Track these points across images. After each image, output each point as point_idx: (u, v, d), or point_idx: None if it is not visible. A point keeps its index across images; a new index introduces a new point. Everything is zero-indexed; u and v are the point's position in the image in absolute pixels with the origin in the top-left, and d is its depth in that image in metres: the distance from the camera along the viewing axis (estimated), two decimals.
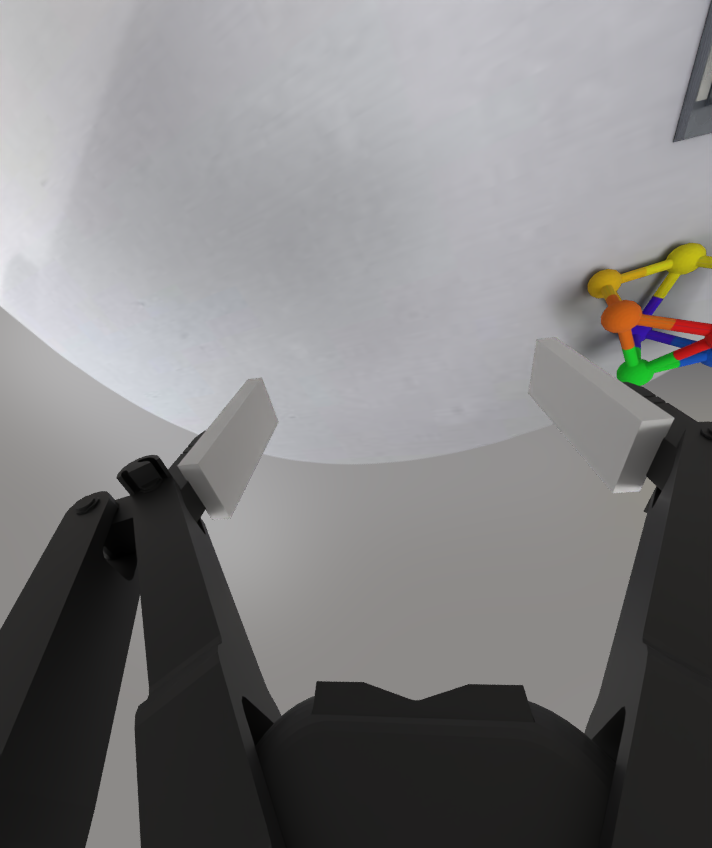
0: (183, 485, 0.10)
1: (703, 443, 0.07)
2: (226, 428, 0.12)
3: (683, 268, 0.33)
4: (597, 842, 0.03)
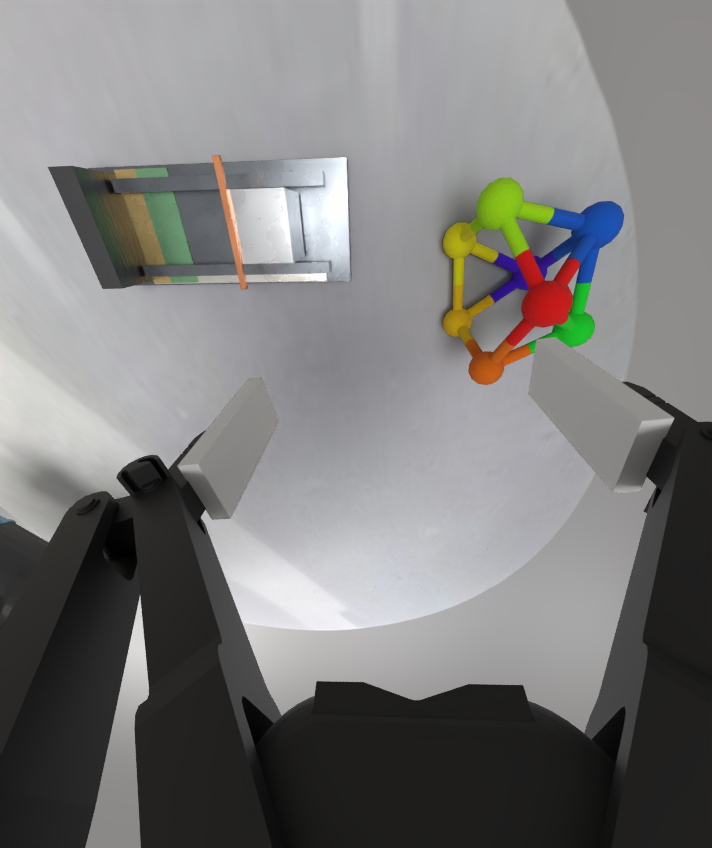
0: (183, 485, 0.10)
1: (703, 443, 0.07)
2: (226, 428, 0.12)
3: (467, 251, 0.29)
4: (597, 842, 0.03)
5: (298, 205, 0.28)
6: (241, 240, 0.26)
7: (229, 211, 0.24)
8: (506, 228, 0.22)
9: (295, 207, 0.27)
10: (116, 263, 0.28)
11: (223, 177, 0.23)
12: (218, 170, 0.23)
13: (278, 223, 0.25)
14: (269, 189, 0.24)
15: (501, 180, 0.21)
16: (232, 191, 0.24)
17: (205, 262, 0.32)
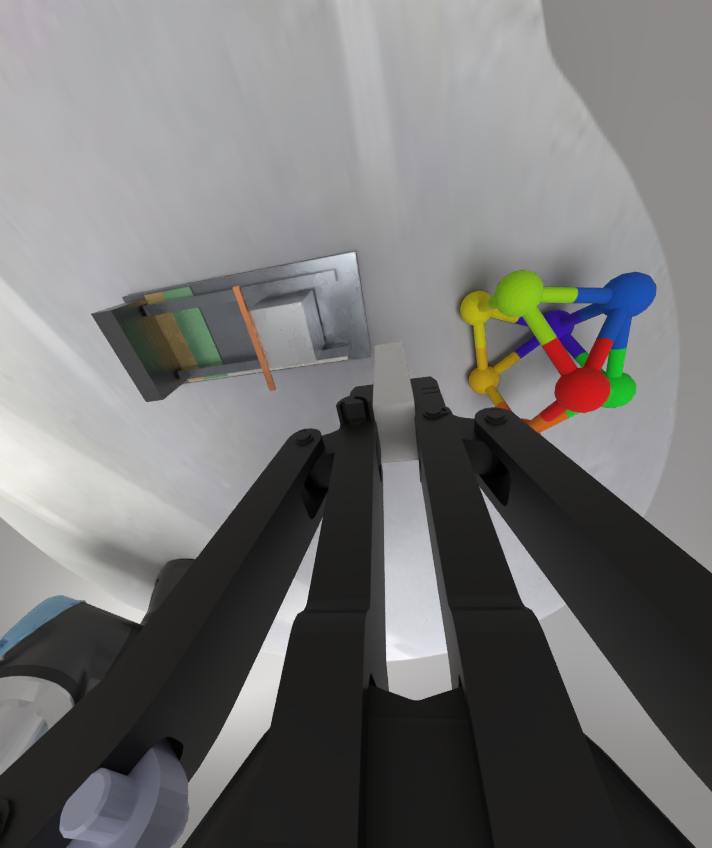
0: (375, 425, 0.11)
1: (427, 423, 0.10)
2: None
3: (487, 318, 0.29)
4: (488, 838, 0.03)
5: (314, 301, 0.29)
6: (266, 349, 0.27)
7: (252, 329, 0.26)
8: (529, 319, 0.21)
9: (311, 307, 0.28)
10: (155, 379, 0.31)
11: (244, 303, 0.25)
12: (239, 298, 0.24)
13: (298, 331, 0.26)
14: (287, 305, 0.25)
15: (518, 275, 0.20)
16: (253, 312, 0.25)
17: (232, 358, 0.34)
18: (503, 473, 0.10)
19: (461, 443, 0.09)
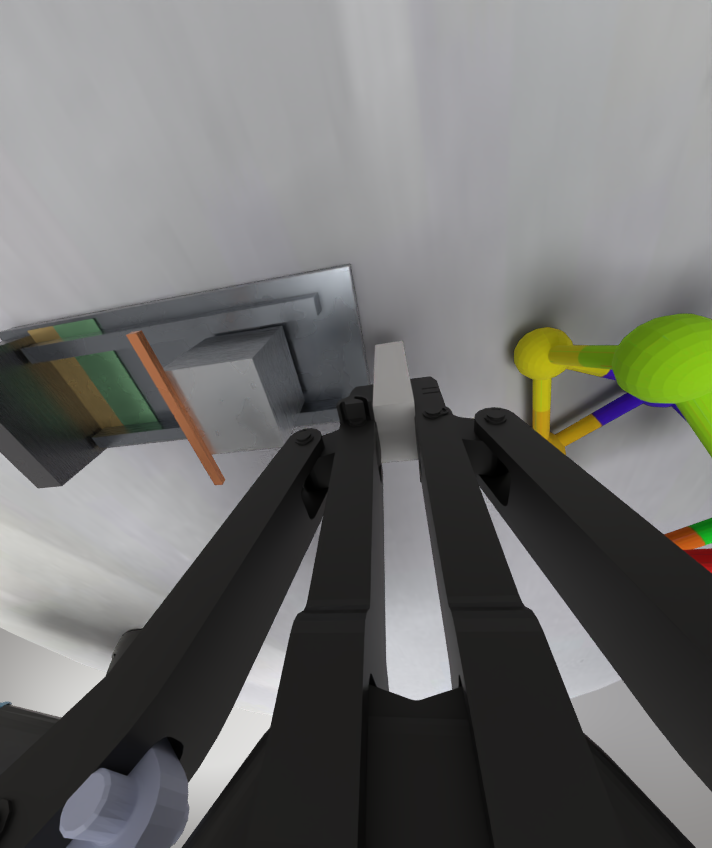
0: (375, 425, 0.11)
1: (426, 422, 0.10)
2: None
3: (561, 372, 0.18)
4: (488, 838, 0.03)
5: (284, 344, 0.18)
6: (202, 428, 0.16)
7: (173, 400, 0.15)
8: (696, 412, 0.10)
9: (279, 355, 0.17)
10: (46, 458, 0.20)
11: (152, 360, 0.14)
12: (141, 352, 0.14)
13: (252, 403, 0.15)
14: (229, 363, 0.14)
15: (687, 329, 0.10)
16: (172, 372, 0.15)
17: (172, 417, 0.23)
18: (503, 473, 0.10)
19: (461, 443, 0.09)
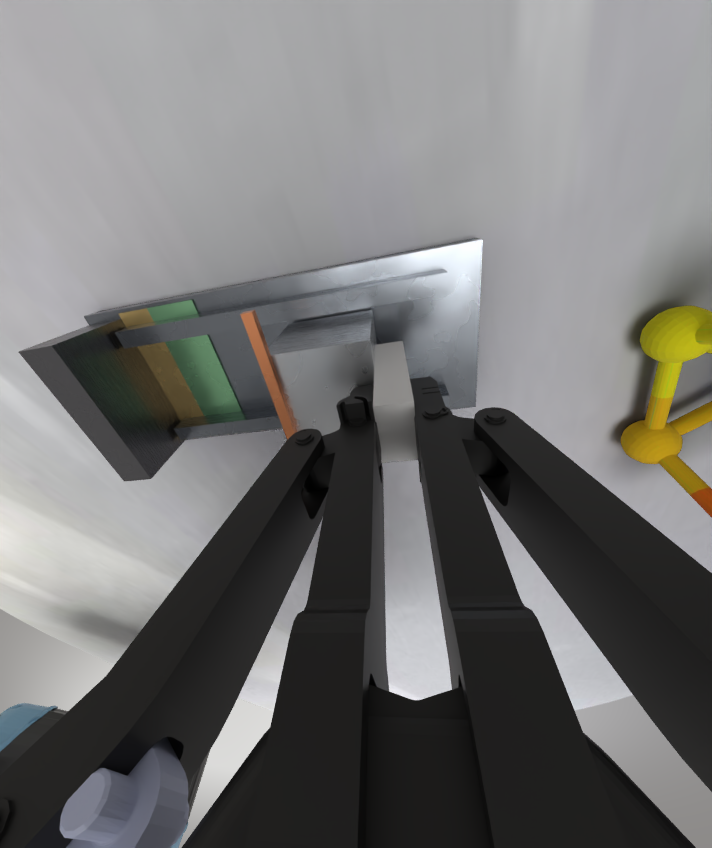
0: (375, 425, 0.11)
1: (426, 422, 0.10)
2: None
3: (703, 353, 0.17)
4: (488, 837, 0.03)
5: (374, 329, 0.17)
6: (299, 417, 0.16)
7: (276, 386, 0.14)
8: None
9: (374, 340, 0.16)
10: (137, 449, 0.19)
11: (262, 342, 0.13)
12: (253, 334, 0.13)
13: None
14: (343, 346, 0.13)
15: None
16: (279, 356, 0.14)
17: (258, 407, 0.22)
18: (503, 473, 0.10)
19: (461, 443, 0.09)
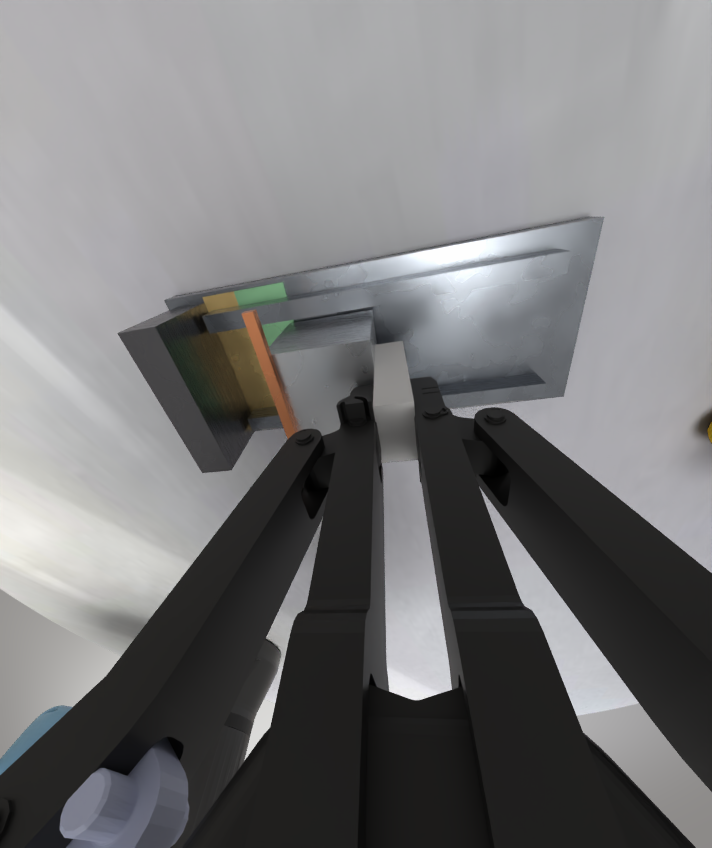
0: (375, 425, 0.11)
1: (426, 422, 0.10)
2: None
3: None
4: (488, 838, 0.03)
5: (374, 329, 0.18)
6: (299, 416, 0.16)
7: (277, 385, 0.14)
8: None
9: (374, 340, 0.17)
10: (221, 439, 0.18)
11: (263, 341, 0.13)
12: (254, 333, 0.13)
13: None
14: (343, 345, 0.13)
15: None
16: (279, 356, 0.14)
17: None
18: (503, 473, 0.10)
19: (461, 443, 0.09)
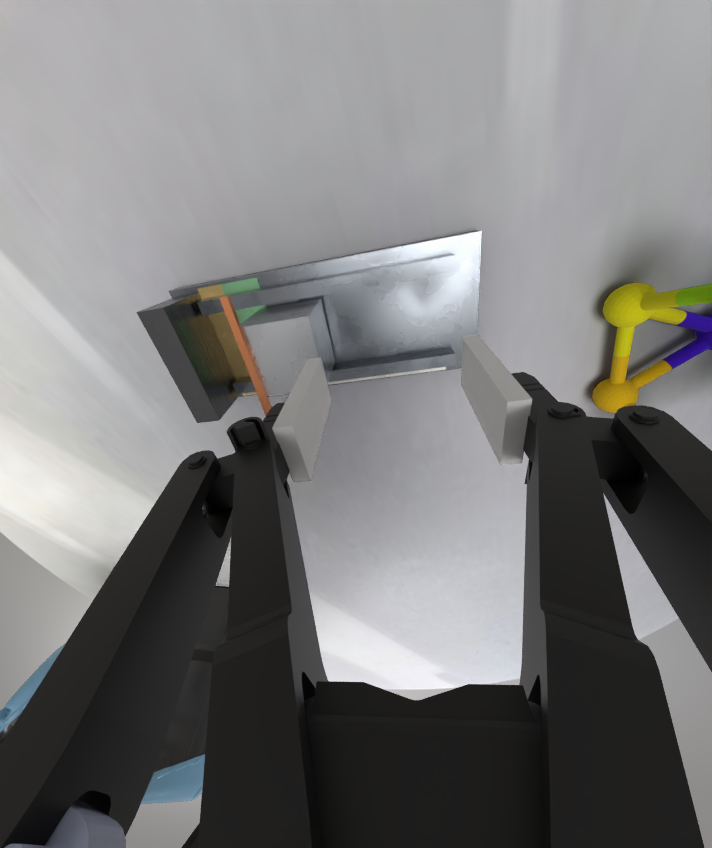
0: (276, 446, 0.11)
1: (551, 420, 0.09)
2: (304, 398, 0.13)
3: (647, 318, 0.22)
4: (541, 825, 0.03)
5: (322, 312, 0.24)
6: (263, 374, 0.22)
7: (246, 349, 0.20)
8: None
9: (320, 320, 0.23)
10: (211, 395, 0.24)
11: (235, 317, 0.19)
12: (228, 311, 0.19)
13: (304, 352, 0.21)
14: (290, 320, 0.19)
15: None
16: (247, 328, 0.20)
17: None
18: (637, 481, 0.09)
19: (591, 450, 0.08)
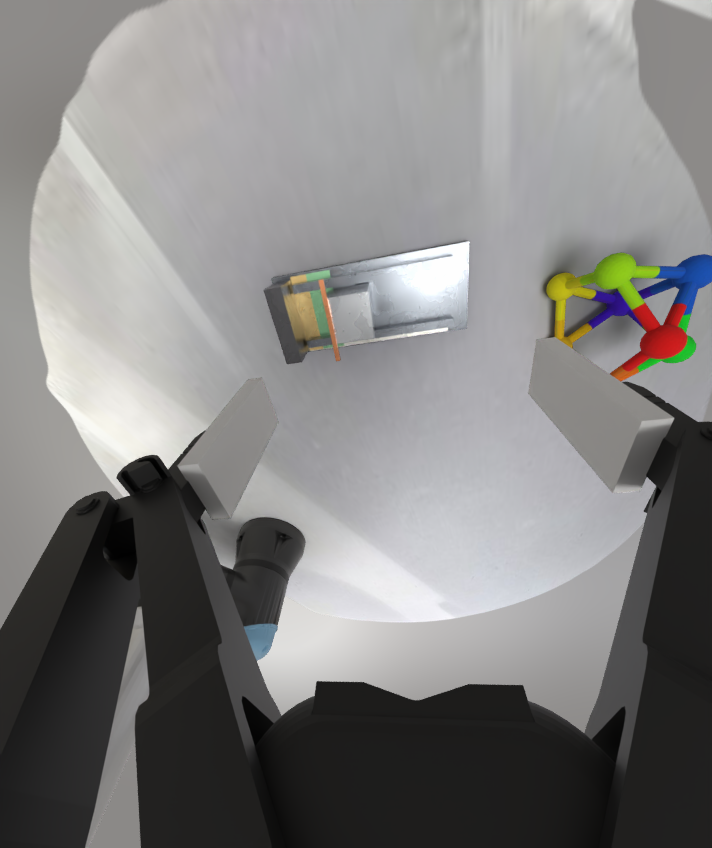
0: (183, 485, 0.10)
1: (703, 443, 0.07)
2: (226, 428, 0.12)
3: (571, 294, 0.36)
4: (597, 843, 0.03)
5: None
6: (336, 328, 0.36)
7: (329, 312, 0.34)
8: (623, 289, 0.28)
9: (370, 296, 0.36)
10: (298, 345, 0.38)
11: (325, 292, 0.33)
12: (322, 288, 0.33)
13: (363, 314, 0.34)
14: (357, 294, 0.33)
15: (618, 256, 0.28)
16: (330, 299, 0.34)
17: None
18: None
19: None
